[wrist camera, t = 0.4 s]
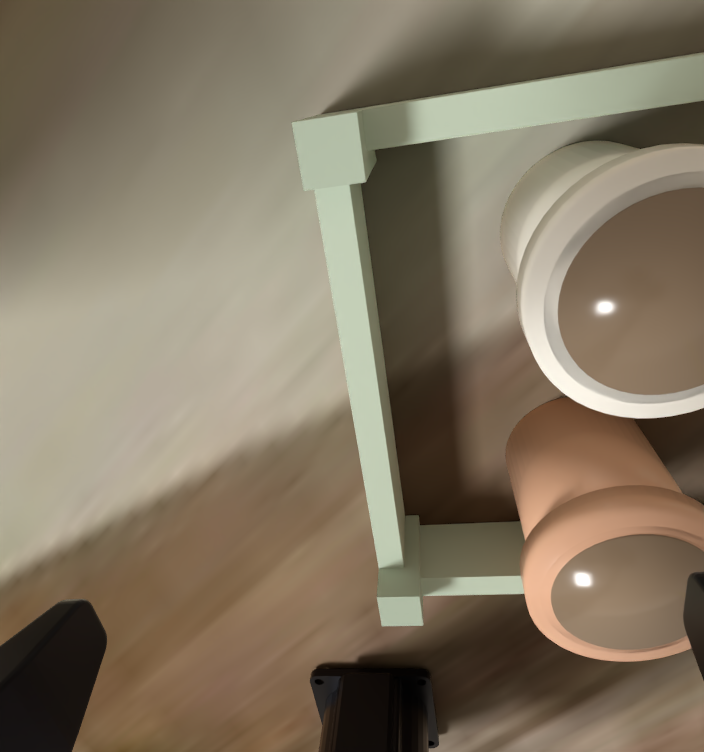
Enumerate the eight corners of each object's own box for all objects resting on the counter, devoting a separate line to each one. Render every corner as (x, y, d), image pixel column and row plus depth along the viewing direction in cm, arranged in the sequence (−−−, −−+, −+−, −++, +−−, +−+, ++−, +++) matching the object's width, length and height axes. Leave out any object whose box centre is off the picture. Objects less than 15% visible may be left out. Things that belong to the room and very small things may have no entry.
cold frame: (770, 529, 23) (843, 620, 19) (386, 543, 25) (381, 626, 21) (904, 19, 15) (1080, -5, 11) (319, 114, 17) (291, 122, 13)
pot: (669, 303, 19) (797, 411, 12) (490, 320, 20) (526, 428, 13) (692, 111, 16) (871, 125, 10) (484, 142, 17) (525, 173, 11)
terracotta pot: (644, 506, 23) (731, 664, 17) (497, 512, 24) (527, 664, 17) (660, 380, 20) (771, 512, 14) (493, 392, 21) (526, 521, 15)
